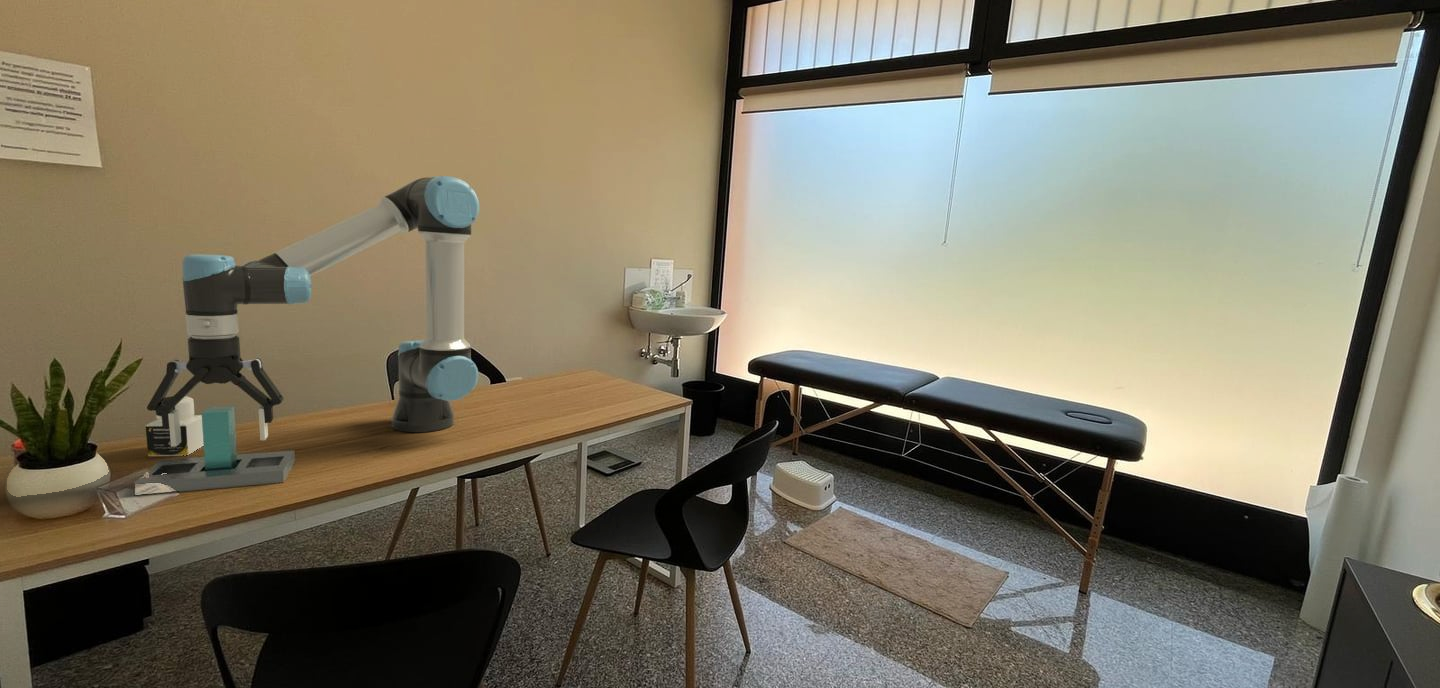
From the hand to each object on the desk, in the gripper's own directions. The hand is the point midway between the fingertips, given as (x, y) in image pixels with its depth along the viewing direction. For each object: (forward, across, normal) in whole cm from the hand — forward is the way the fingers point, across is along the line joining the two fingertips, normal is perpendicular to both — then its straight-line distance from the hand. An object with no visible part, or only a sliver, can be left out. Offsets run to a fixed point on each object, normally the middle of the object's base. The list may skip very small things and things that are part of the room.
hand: (221, 441), depth 115 cm
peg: (+7, 0, 0) cm, 7 cm away
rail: (+7, 0, 0) cm, 7 cm away
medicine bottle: (+8, -12, +19) cm, 24 cm away
